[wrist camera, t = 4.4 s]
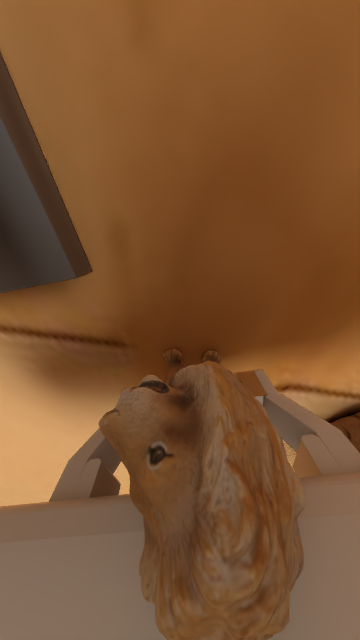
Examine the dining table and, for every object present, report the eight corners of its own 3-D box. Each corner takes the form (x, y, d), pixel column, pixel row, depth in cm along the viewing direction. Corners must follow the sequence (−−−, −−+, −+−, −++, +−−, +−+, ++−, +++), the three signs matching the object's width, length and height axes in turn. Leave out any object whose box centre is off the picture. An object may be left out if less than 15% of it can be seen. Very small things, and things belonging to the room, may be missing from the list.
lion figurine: (150, 291, 9) (-75, 685, 1) (241, 304, 9) (578, 680, 1) (140, 436, 16) (97, 643, 8) (194, 441, 16) (207, 644, 8)
